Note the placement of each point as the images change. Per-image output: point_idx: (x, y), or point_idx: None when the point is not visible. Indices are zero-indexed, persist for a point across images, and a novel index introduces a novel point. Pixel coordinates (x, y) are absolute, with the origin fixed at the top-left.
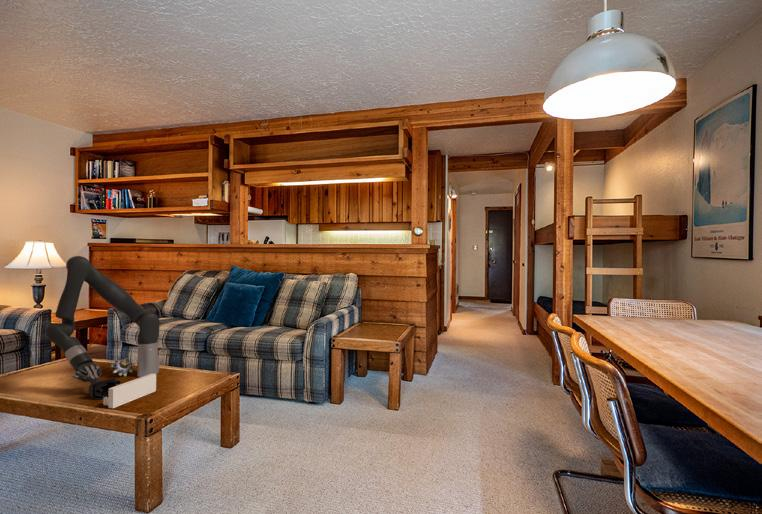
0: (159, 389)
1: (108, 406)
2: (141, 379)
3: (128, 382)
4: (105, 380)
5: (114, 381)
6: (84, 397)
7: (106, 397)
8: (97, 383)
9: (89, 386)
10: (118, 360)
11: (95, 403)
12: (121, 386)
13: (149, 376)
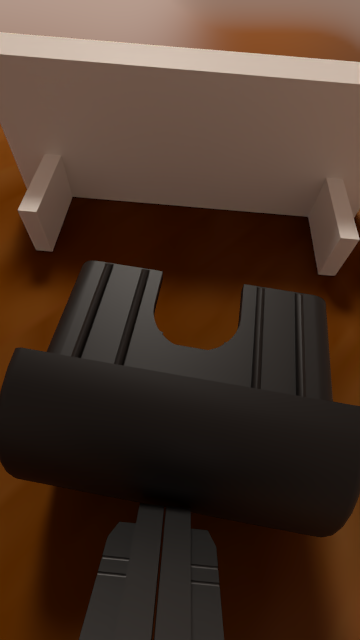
0: (9, 170)
1: (355, 214)
2: (148, 48)
3: (253, 65)
4: (168, 374)
5: (147, 272)
6: (282, 623)
7: (345, 226)
8: (291, 401)
9: (355, 501)
10: None
11: (343, 345)
12: (342, 63)
13: (64, 39)
